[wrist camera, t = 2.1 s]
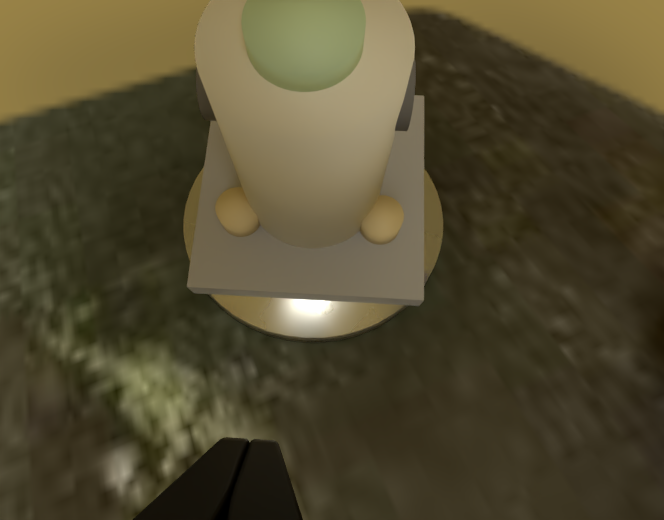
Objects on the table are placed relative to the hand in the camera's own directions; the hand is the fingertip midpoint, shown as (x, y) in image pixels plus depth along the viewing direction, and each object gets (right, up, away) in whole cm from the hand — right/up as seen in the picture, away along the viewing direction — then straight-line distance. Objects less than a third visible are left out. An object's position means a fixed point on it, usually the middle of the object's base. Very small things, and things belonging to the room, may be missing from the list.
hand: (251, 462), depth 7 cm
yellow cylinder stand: (0, +6, +16) cm, 17 cm away
